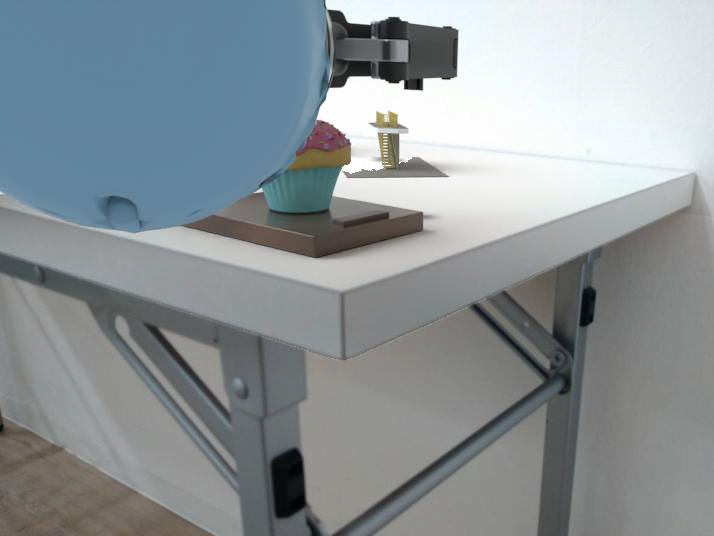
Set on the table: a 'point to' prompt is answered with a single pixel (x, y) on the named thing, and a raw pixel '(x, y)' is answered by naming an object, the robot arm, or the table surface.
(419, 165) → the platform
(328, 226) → the cutting board
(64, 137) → the robot arm
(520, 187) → the table surface
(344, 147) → the cupcake
